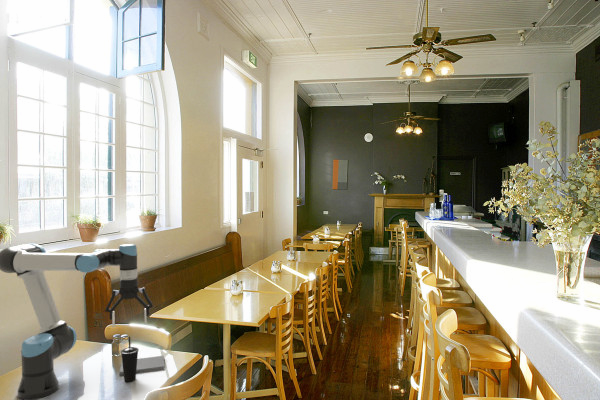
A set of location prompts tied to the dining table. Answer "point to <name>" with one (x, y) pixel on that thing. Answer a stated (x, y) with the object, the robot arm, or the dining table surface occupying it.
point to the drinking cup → (129, 362)
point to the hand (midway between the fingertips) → (129, 324)
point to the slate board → (147, 364)
